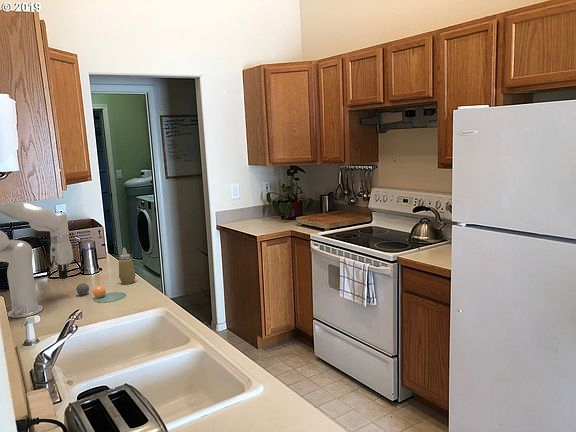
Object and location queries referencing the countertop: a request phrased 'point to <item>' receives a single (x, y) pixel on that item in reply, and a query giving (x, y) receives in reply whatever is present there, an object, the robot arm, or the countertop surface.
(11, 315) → the robot arm
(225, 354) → the countertop surface
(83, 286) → the dark gray ball
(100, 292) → the object ball
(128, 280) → the squeeze bottle
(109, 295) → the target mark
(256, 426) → the countertop surface
